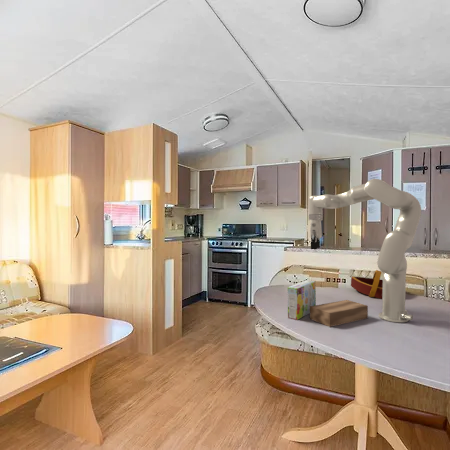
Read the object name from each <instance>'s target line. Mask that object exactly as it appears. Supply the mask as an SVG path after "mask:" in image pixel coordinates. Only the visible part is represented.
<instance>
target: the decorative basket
mask: <svg viewBox="0 0 450 450" xmlns="http://www.w3.org/2000/svg"><path fill="white" fill-rule="evenodd" d="M381 275H382V271H380V270H377V269H376V270H375V271H374V273H373V277H372V278H371V277H362V276H355V275H354V276H351V280H350V286H351V288H353V289H354V290H355V291H358V292H359V293H360V294H363V295H367V296H368V297H369V298H377V299H379V300H381V299H382V295H383V279H381Z"/></svg>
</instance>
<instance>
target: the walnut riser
mask: <svg viewBox="0 0 450 450" xmlns="http://www.w3.org/2000/svg"><path fill="white" fill-rule="evenodd" d="M368 314H369V306H368V305H367V304H363V303H360V302H356V301H353V300H348V299H344V300H339V301H333V302H327V303H322V304H321V303H320V304H316V305H315V306H310V313H309V320H312V321H314V322H317V323H319V324H322V325H325V326H326V327H329V328H331V327H335V326H340V325H344V324H349V323H354V322H357V321H362V320H366V319H368V318H369V317H368V316H369V315H368Z"/></svg>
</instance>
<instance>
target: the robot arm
mask: <svg viewBox="0 0 450 450" xmlns="http://www.w3.org/2000/svg"><path fill="white" fill-rule="evenodd" d="M372 200H376V201H377V202H379V203H381V204H384V205H385V206H387V207H389V208H391V209H394V210H399V216H398V217H397V220H396V224H395V226H394V228H393V230H392V231H390V232H389V233H387V234H386V235H385V238H384V239H383V242H382V245H381V247H380V251H379V253H378V257H377V262H376V263H377V268H378V269H379V271H381V273H383V274H382V280H383V295H382V306H381V307H382V308H381V309H382V311H381V312H379V313H378V317H379V319H381V320H383V321H386V322H390V323H391V322H392V323H407V322H410V321H413V319H414V315H413V314H409V313H408V310H407V309H406V285H407V283H406V282H407V279H406V278H407V271H408V262H407V258H406V256H405V254H406V251H407V250H408V249H410V247H412V245H413V242H414V238H415V236H416V232H417V230H418V226H419V223H420V220H421V216H422V215H421V214H422V206H421V202H420V200H418V199H417V198H416V197H415V196H414V195H413V194H412V193H409V192H408V191H406V190H401V189H398V188H396V187H394V186H392V185H390V184H388V183H387V182H386V181H384V180H383V179H380V178H372V179H369V180H368V181H367V182H366V183H362V184H359V185H356V186H352V187H351V188H350V189H349V190H348V191H345V192H343V193H339V194H327V193H325V194H322V195H321V194H320V195H310V196H309V197H308V221H309V223H310V225H309V229H310V230H309V231H310V232H309V236H310V249H311V250H317V249H320V248H321V238H322V237H323V236H322V235H323V234H322V233H323V231H322V230H323V229H322V221H323V217H324V214H323V213H324V212H323V209H333V210H334V209H335V210H336V209H341V208H344V207H349V206H352V205H356V204H358V203H362V202H363V203H364V202H367V201H372Z"/></svg>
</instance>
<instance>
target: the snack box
mask: <svg viewBox="0 0 450 450" xmlns="http://www.w3.org/2000/svg"><path fill="white" fill-rule="evenodd" d="M316 292H317V290H316V281H314V280H310V279H309V280H307V279H306V280H304V281H301V282H298V283H296V284H293V285H290V286H287V318H288V319H291V320H295V321H296V320H297V321H298V320H300V319H301V318H303V317H305V316H307V315H308V314H309V315H310V306H315V305H317V299H316V298H317V294H316Z"/></svg>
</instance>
